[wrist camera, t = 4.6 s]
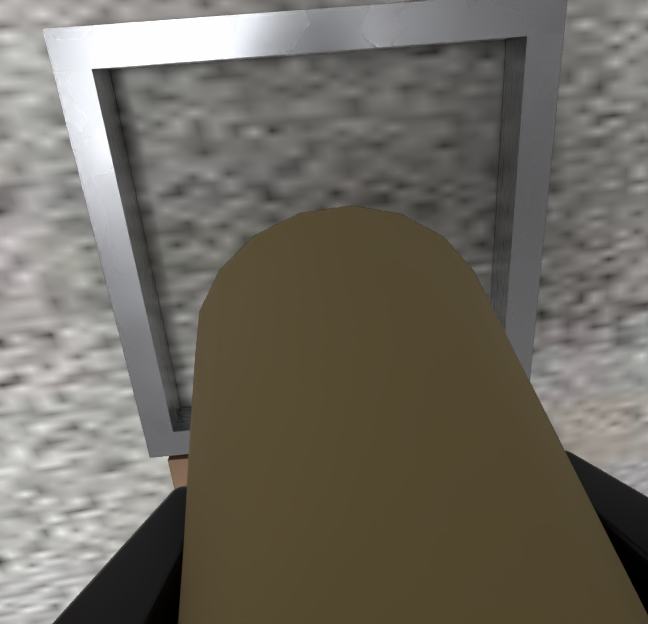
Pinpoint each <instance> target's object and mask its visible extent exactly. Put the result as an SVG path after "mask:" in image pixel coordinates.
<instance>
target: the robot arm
mask: <svg viewBox="0 0 648 624" xmlns="http://www.w3.org/2000/svg"><path fill="white" fill-rule="evenodd" d="M565 452H566V454H567V456H568V458H569V460H570V462H571V464H572V466H573V468H574V470H575V472H576V474H577V476H578V478H579V480H580V482H581V484H582V486H583V488H584V490H585V492H586V494H587V496H588V498H589V500H590V502H591V504H592V506H593V508H594V510H595V511H596V513H597V515H598V517H599V519H600V521H601V523H602V525H603V527H604V529H605V531H606V533H607V535H608V537H609V539H610V541H611V543H612V545H613V547H614V549H615V551H616V553H617V555H618V557H619V559H620V561H621V563H622V565H623V567H624V569H625V571H626V573H627V575H628V577H629V579H630V581H631V583H632V585H633V587H634V589H635V591H636V593H637V595H638V597H639V599H640V601H641V603H642V605H643V607H644V609H645V610H646V612H647V614H648V497H647V496H645V495H643V494H642V493H640V492H638V491H637V490H635V489H633V488H631V487H630V486H628V485H626V484H624V483H623V482H621V481H619V480H618V479H616V478H614V477H612V476H611V475H609V474H607V473H606V472H604V471H602V470H600V469H599V468H597V467H595V466H593V465H592V464H590V463H588V462H587V461H585V460H583V459H581V458H580V457H578V456H576V455H575V454H573V453H571V452H569V451H566V450H565ZM186 496H187V486H181V487H177V488H176V489H174V490H173V491H172V492H171V493H170V494H169V495H168V497H167V498H166V499H165V500H164V501H163V502H162V503H161V504H160V505H159V506H158V508H157V509H156V510H155V511H154V512H153V513H152V514H151V515H150V516H149V517H148V519H147V520H146V521H145V522H144V523H143V524H142V525H141V526H140V527H139V529H138V530H137V531H136V532H135V533H134V534H133V535H132V536H131V537H130V538H129V540H128V541H127V542H126V543H125V544H124V545H123V546H122V547H121V548H120V549H119V551H118V552H117V553H116V554H115V555H114V556H113V557H112V558H111V559H110V561H109V562H108V563H107V564H106V565H105V566H104V567H103V568H102V569H101V570H100V572H99V573H98V574H97V575H96V576H95V577H94V578H93V579H92V580H91V582H90V583H89V584H88V585H87V586H86V587H85V588H84V589H83V590H82V591H81V593H80V594H79V595H78V596H77V597H76V598H75V599H74V600H73V601H72V602H71V604H70V605H69V606H68V607H67V608H66V609H65V610H64V611H63V612H62V614H61V615H60V616H59V617H58V618H57V619H56V620H55V621H54V622H53V623H52V624H177V622H178V611H179V599H180V587H181V575H182V563H183V549H184V532H185V514H186Z"/></svg>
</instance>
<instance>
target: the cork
mask: <svg viewBox="0 0 648 624" xmlns="http://www.w3.org/2000/svg"><path fill="white" fill-rule="evenodd" d="M186 486H187V496H186V514H185V532H184V549H183V563H182V575H181V587H180V599H179V611H178V622H177V624H648V614H647V612H646V610H645V609H644V607H643V605H642V603H641V601H640V599H639V597H638V595H637V593H636V591H635V589H634V587H633V585H632V583H631V581H630V579H629V577H628V575H627V573H626V571H625V569H624V567H623V565H622V563H621V561H620V559H619V557H618V555H617V553H616V551H615V549H614V547H613V545H612V543H611V541H610V539H609V537H608V535H607V533H606V531H605V529H604V527H603V525H602V523H601V521H600V519H599V517H598V515H597V513H596V511H595V510H594V508H593V506H592V504H591V502H590V500H589V498H588V496H587V494H586V492H585V490H584V488H583V486H582V484H581V482H580V480H579V478H578V476H577V474H576V472H575V470H574V468H573V466H572V464H571V462H570V460H569V458H568V456H567V454H566V452H565V450H564V448H563V446H562V444H561V442H560V440H559V438H558V436H557V434H556V432H555V430H554V428H553V426H552V424H551V422H550V420H549V418H548V416H547V414H546V413H545V411H544V409H543V407H542V405H541V403H540V401H539V399H538V397H537V395H536V393H535V391H534V389H533V387H532V385H531V383H530V381H529V379H528V377H527V375H526V373H525V371H524V369H523V367H522V365H521V363H520V361H519V359H518V357H517V355H516V353H515V351H514V349H513V347H512V345H511V343H510V341H509V339H508V337H507V335H506V333H505V331H504V329H503V327H502V325H501V323H500V321H499V319H498V317H497V315H496V314H495V312H494V310H493V308H492V306H491V304H490V302H489V300H488V298H487V296H486V294H485V292H484V290H483V288H482V286H481V284H480V282H479V280H478V278H477V276H476V274H475V272H474V270H473V269H472V268H471V267H470V266H469V265H468V264H467V262H466V261H465V260H464V259H463V258H462V257H461V256H460V255H459V253H458V252H457V251H456V250H455V249H454V248H453V247H452V246H451V244H450V243H449V242H448V241H447V240H446V239H445V238H444V237H443V236H441V235H439V234H437V233H436V232H434V231H432V230H430V229H428V228H426V227H424V226H423V225H421V224H419V223H417V222H415V221H413V220H412V219H410V218H408V217H406V216H404V215H402V214H398V213H393V212H387V211H381V210H375V209H369V208H363V207H357V206H345V207H338V208H331V209H324V210H318V211H311V212H304V213H299V214H297V215H295V216H293V217H291V218H289V219H287V220H285V221H283V222H281V223H279V224H277V225H275V226H273V227H271V228H269V229H267V230H265V231H263V232H261V233H259V234H257V235H255V236H253V237H252V238H251V239H250V240H249V241H248V242H247V243H246V244H245V245H244V246H243V247H242V248H241V249H240V250H239V251H238V252H237V253H236V254H235V255H234V256H233V257H232V258H231V259H230V260H229V261H228V262H227V263H226V264H225V265H224V266H223V267H222V268H221V269H220V270H219V272H218V274H217V276H216V278H215V280H214V282H213V285H212V287H211V289H210V291H209V293H208V295H207V297H206V299H205V301H204V303H203V305H202V307H201V309H200V312H199V322H198V333H197V343H196V353H195V367H194V382H193V396H192V411H191V426H190V440H189V455H188V470H187V484H186Z"/></svg>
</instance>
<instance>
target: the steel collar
mask: <svg viewBox="0 0 648 624" xmlns="http://www.w3.org/2000/svg"><path fill="white" fill-rule="evenodd" d="M566 7H567V0H430V1H416V2H403V3H389V4H376V5H362V6H348V7H335V8H321V9H308V10H294V11H281V12H267V13H254V14H240V15H227V16H213V17H200V18H186V19H172V20H159V21H145V22H132V23H118V24H105V25H91V26H78V27H64V28H51V29H43V33H44V37H45V41H46V45H47V49H48V53H49V57H50V61H51V65H52V69H53V73H54V77H55V81H56V85H57V89H58V93H59V97H60V101H61V105H62V109H63V113H64V117H65V121H66V125H67V129H68V133H69V137H70V141H71V145H72V149H73V153H74V157H75V161H76V165H77V169H78V173H79V177H80V181H81V185H82V189H83V193H84V197H85V201H86V205H87V209H88V212H89V216H90V220H91V224H92V228H93V232H94V236H95V240H96V244H97V248H98V252H99V256H100V260H101V264H102V268H103V272H104V276H105V280H106V284H107V288H108V292H109V296H110V300H111V304H112V308H113V312H114V316H115V320H116V324H117V328H118V332H119V336H120V340H121V344H122V348H123V352H124V356H125V360H126V364H127V368H128V372H129V376H130V380H131V384H132V388H133V392H134V396H135V400H136V404H137V408H138V412H139V416H140V420H141V424H142V428H143V432H144V436H145V440H146V444H147V448H148V452H149V456H150V458H151V457H162V456H173V455H183V454H189V440H190V426H191V411H192V407H185V408H181V406H180V401H179V396H178V392H177V387H176V382H175V378H174V373H173V368H172V363H171V359H170V354H169V349H168V345H167V340H166V335H165V330H164V326H163V321H162V316H161V312H160V307H159V302H158V297H157V293H156V288H155V283H154V278H153V274H152V269H151V264H150V260H149V255H148V250H147V245H146V241H145V236H144V231H143V227H142V222H141V217H140V212H139V208H138V203H137V198H136V194H135V189H134V184H133V179H132V175H131V170H130V165H129V161H128V156H127V151H126V146H125V142H124V137H123V132H122V128H121V123H120V118H119V113H118V109H117V104H116V99H115V94H114V90H113V85H112V80H111V76H110V71H109V70H115V69H128V68H141V67H154V66H167V65H180V64H194V63H207V62H220V61H233V60H246V59H259V58H273V57H286V56H299V55H312V54H325V53H338V52H352V51H365V50H378V49H391V48H404V47H417V46H431V45H444V44H457V43H470V42H483V41H496V40H506V56H505V73H504V90H503V106H502V123H501V139H500V156H499V173H498V189H497V206H496V222H495V239H494V256H493V272H492V289H491V306H492V308H493V310H494V312H495V314H496V315H497V317H498V319H499V321H500V323H501V325H502V327H503V329H504V331H505V333H506V335H507V337H508V339H509V341H510V343H511V345H512V347H513V349H514V351H515V353H516V355H517V357H518V359H519V361H520V363H521V365H522V367H523V369H524V371H525V373H526V375H527V377H528V379H529V381H530V373H531V362H532V352H533V342H534V332H535V322H536V312H537V302H538V291H539V281H540V271H541V261H542V251H543V241H544V231H545V220H546V210H547V200H548V190H549V180H550V170H551V159H552V149H553V139H554V129H555V119H556V109H557V99H558V88H559V78H560V68H561V58H562V48H563V38H564V28H565V17H566Z"/></svg>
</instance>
